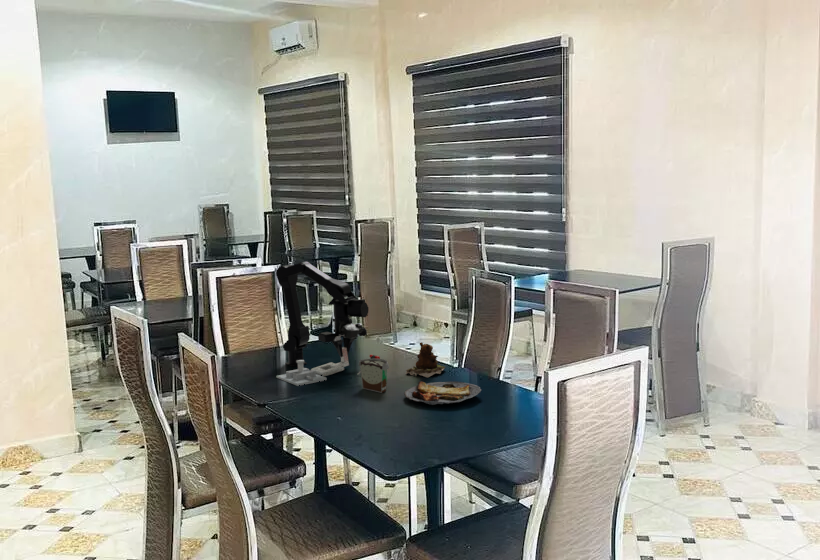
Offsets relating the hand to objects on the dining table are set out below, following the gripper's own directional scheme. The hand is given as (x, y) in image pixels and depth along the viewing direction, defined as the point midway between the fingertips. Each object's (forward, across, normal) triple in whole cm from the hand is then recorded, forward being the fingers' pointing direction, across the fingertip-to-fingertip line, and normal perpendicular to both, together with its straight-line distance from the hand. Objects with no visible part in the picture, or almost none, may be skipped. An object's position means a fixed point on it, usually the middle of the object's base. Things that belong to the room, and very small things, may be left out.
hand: (343, 356), depth 304 cm
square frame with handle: (+4, -8, 0) cm, 9 cm away
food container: (+5, -7, -33) cm, 34 cm away
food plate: (+6, +2, -56) cm, 57 cm away
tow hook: (+7, +6, -13) cm, 16 cm away
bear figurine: (+6, +20, -26) cm, 33 cm away
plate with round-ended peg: (+5, -20, -2) cm, 21 cm away
